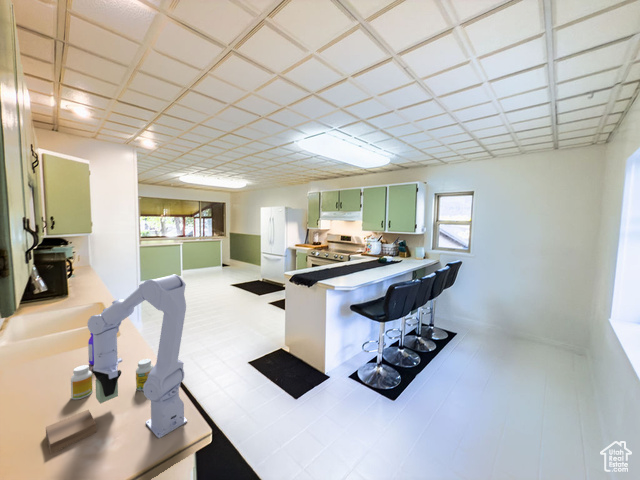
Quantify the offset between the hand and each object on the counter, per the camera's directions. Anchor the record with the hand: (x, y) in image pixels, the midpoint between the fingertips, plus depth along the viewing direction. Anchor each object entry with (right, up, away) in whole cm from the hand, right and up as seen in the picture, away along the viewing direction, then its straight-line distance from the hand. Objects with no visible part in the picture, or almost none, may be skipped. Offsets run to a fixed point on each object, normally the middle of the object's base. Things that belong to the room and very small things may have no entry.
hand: (106, 391), depth 81 cm
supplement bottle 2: (+4, -6, +12) cm, 14 cm away
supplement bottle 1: (-15, -6, +7) cm, 17 cm away
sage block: (0, -2, 0) cm, 2 cm away
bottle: (-27, -4, +29) cm, 40 cm away
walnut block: (-2, -7, -9) cm, 12 cm away
